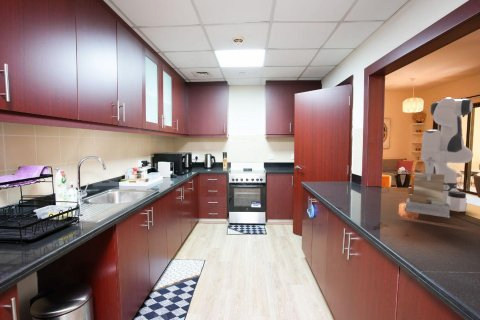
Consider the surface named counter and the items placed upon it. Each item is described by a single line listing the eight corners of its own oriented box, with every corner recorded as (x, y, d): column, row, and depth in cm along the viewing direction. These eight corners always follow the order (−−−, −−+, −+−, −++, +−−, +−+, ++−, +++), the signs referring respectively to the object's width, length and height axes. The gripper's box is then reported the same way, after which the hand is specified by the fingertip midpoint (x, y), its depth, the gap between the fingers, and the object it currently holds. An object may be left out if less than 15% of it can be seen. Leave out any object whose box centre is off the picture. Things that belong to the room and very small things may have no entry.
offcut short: (430, 211, 143) (431, 200, 142) (444, 213, 139) (445, 201, 138) (430, 212, 141) (431, 200, 140) (444, 214, 137) (445, 202, 137)
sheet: (413, 201, 151) (414, 172, 150) (442, 204, 143) (444, 174, 141) (412, 201, 150) (414, 172, 148) (442, 205, 141) (444, 174, 139)
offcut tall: (409, 208, 149) (410, 194, 148) (425, 210, 144) (426, 196, 143) (409, 209, 147) (409, 194, 147) (425, 211, 143) (426, 196, 142)
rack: (407, 207, 156) (407, 197, 156) (447, 213, 144) (448, 202, 144) (405, 213, 144) (405, 202, 143) (449, 220, 131) (450, 208, 131)
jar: (466, 212, 147) (468, 192, 146) (464, 214, 142) (465, 194, 141) (447, 209, 154) (448, 190, 153) (444, 211, 149) (445, 192, 148)
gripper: (437, 158, 134) (435, 183, 135) (436, 156, 150) (435, 178, 151) (423, 157, 137) (421, 181, 139) (423, 155, 154) (422, 177, 155)
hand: (428, 180), depth 145 cm, fingers closed on sheet, 2 cm apart
